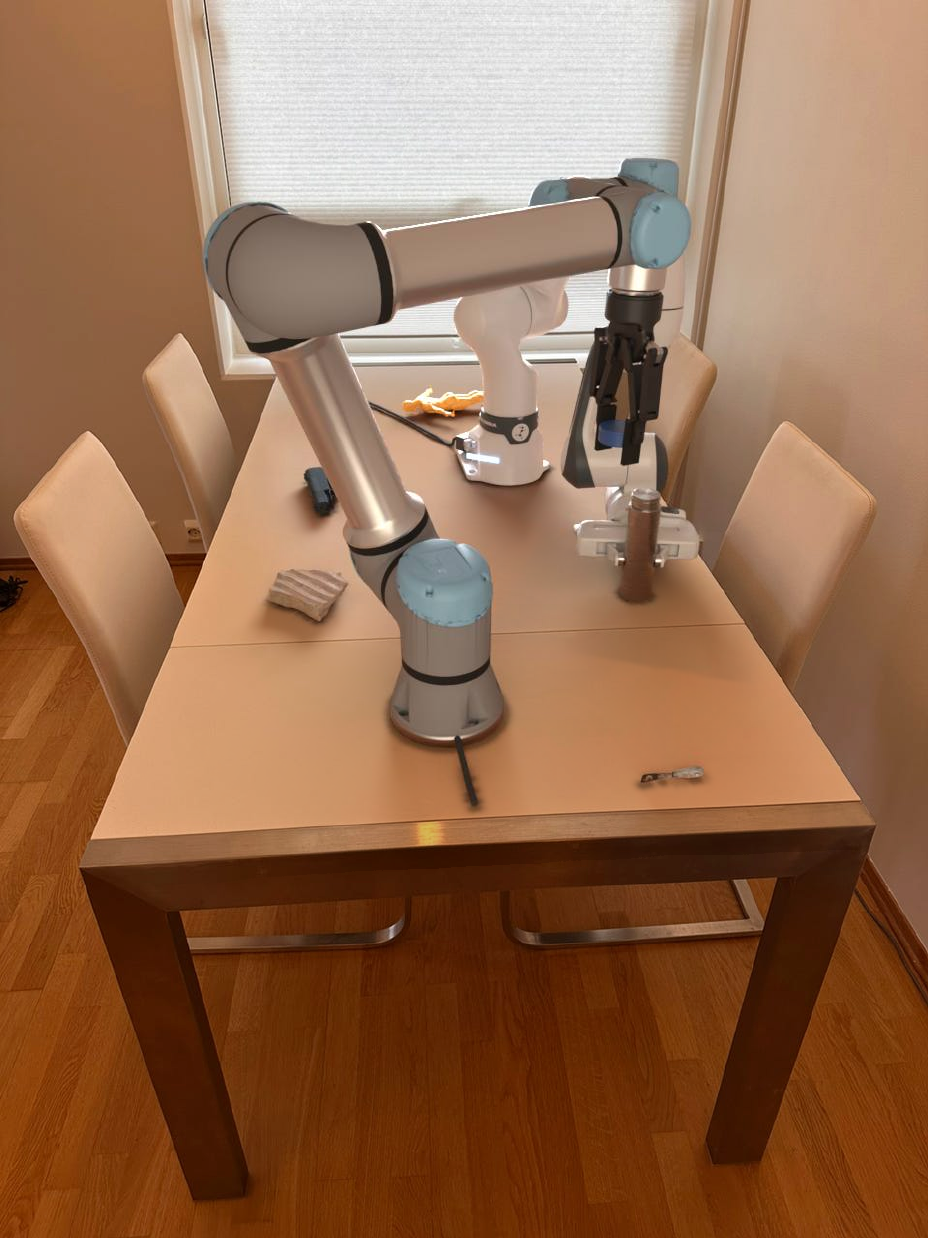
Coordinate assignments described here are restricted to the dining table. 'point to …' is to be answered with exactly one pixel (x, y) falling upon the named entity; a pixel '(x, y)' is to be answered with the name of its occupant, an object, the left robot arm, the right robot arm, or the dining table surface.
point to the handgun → (319, 489)
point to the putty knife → (674, 774)
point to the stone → (307, 590)
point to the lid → (612, 433)
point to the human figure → (442, 402)
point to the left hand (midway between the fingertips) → (616, 455)
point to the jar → (640, 545)
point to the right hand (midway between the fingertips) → (639, 562)
